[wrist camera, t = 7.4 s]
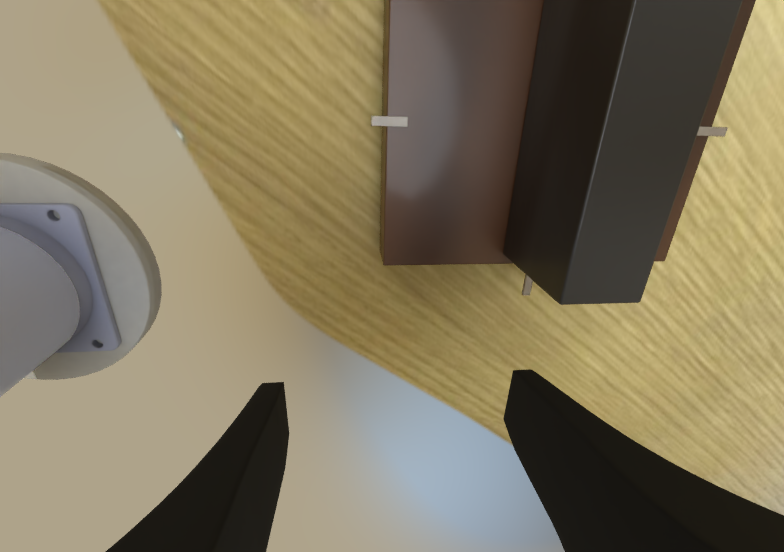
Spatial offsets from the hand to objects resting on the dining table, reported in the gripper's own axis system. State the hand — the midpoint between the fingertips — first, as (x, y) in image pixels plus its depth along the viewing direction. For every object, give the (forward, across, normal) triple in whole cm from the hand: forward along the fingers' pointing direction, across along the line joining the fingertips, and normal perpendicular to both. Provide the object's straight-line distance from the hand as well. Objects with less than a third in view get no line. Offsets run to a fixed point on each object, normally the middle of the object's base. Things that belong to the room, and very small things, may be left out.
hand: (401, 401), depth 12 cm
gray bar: (+6, -7, -8) cm, 12 cm away
